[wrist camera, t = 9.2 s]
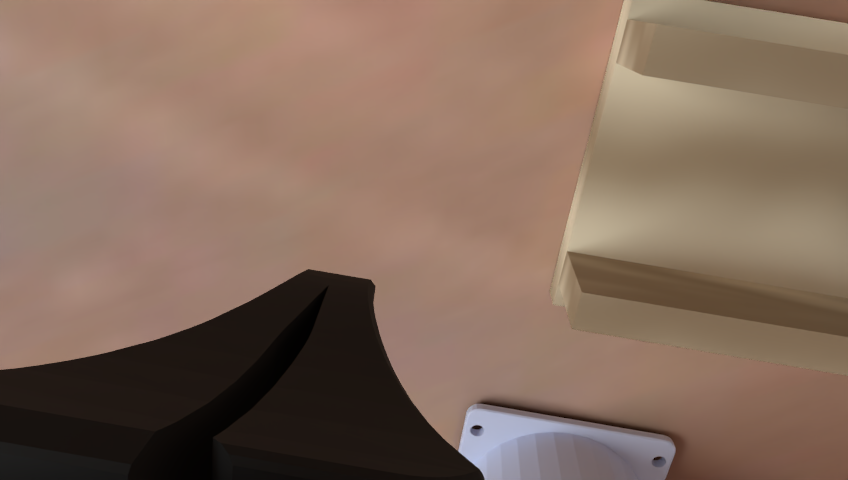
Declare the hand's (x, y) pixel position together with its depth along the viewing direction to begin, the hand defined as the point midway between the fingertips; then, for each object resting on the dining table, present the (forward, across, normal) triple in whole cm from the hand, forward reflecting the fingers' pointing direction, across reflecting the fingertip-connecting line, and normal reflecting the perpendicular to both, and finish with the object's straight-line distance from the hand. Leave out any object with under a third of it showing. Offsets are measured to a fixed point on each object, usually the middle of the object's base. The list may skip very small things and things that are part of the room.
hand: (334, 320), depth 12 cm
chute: (+9, -16, -2) cm, 18 cm away
